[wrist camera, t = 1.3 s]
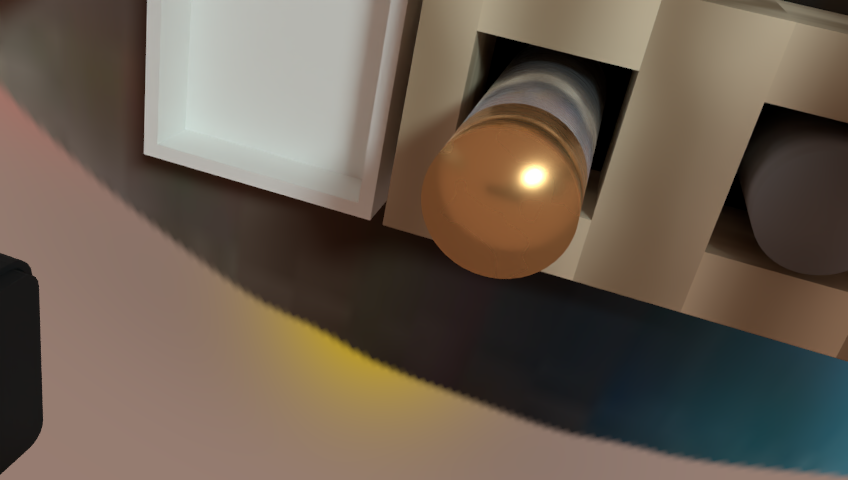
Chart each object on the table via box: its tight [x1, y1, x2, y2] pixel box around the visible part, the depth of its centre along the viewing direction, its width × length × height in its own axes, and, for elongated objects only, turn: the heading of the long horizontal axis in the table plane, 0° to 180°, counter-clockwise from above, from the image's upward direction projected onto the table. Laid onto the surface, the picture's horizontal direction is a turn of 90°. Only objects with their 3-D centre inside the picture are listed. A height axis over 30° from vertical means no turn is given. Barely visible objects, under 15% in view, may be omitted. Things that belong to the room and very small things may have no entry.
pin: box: [421, 44, 607, 279], centre depth 25 cm, size 4×4×12 cm
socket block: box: [383, 0, 848, 361], centre depth 27 cm, size 18×10×6 cm, turn 79°
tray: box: [144, 0, 423, 220], centre depth 30 cm, size 10×12×3 cm
